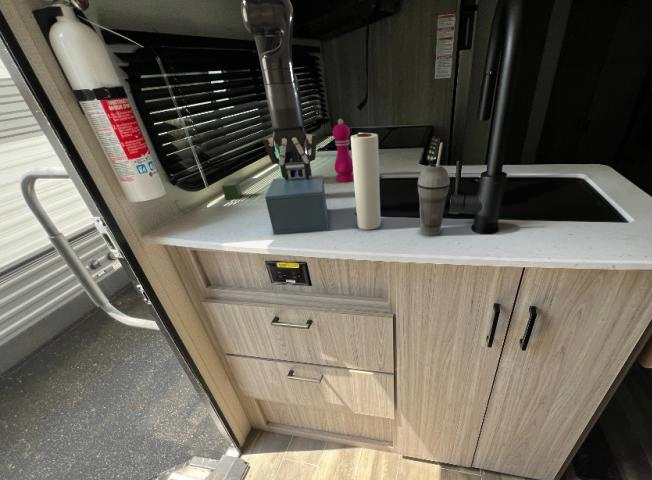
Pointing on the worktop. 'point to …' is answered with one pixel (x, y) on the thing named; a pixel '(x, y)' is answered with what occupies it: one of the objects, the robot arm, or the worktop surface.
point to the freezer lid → (295, 184)
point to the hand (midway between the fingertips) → (297, 178)
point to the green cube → (232, 190)
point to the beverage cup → (432, 196)
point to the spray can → (287, 160)
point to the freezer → (298, 214)
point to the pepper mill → (343, 153)
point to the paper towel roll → (366, 179)
